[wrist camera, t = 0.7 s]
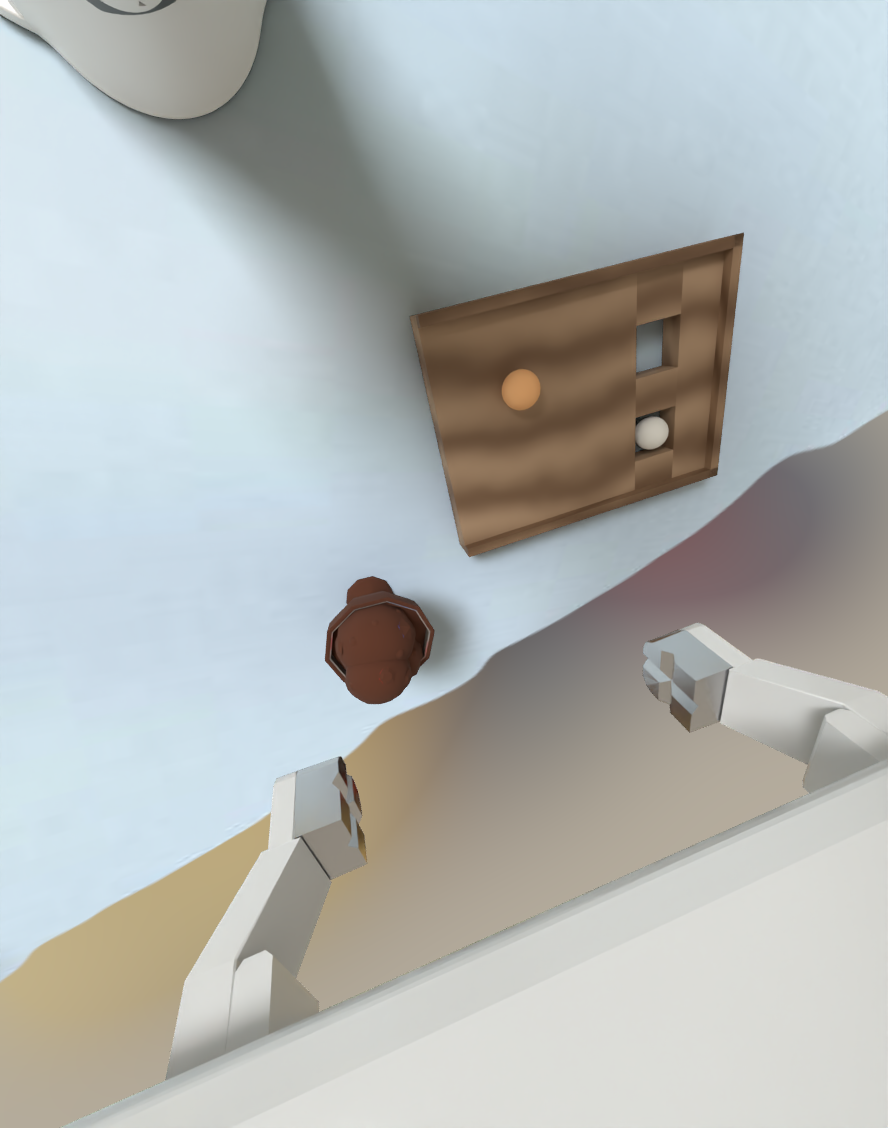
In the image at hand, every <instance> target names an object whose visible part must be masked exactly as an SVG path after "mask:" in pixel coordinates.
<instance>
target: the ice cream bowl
mask: <svg viewBox="0 0 888 1128" xmlns="http://www.w3.org/2000/svg"><path fill="white" fill-rule="evenodd" d="M346 603H347V604H348V605H347V606H346V607H345V608H344V609H343V610H342V611H341V612H340V613H339V614H338V615H337V616H336V617H335V618H334V619H333V620H332V621H331V622H330V624H329V627H328V631H327V641H326V654H325V661H326V662H327V664H328V665H329V666H330V667H331V668H332V669H333V670H334V672H335V673H336V674H337V675H338V676H339V677H340V678H341V680H342V681H343V682H345V683H346V686H347V689H348V691H349V692H350V693H351V694H352V695H353V696H354V697H356V698H358V699H359V700H361V701H362V702H365V703H367V704H382V703H386V702H389V701H391V700H393V699H394V698H396V697H397V696H399V695H400V694H401V693H402V692H403V690H404V689H405V688H406V687H407V686H408V684H409V682H410V680H411V677H412V676H414V675H416V674H417V672H418V670H419V667H420V666H421V665H422V664H423V663H424V662H425V661H426V660H427V659H429V656H430V651H431V646H432V641H433V636H434V629H433V627H432V626H431V624H430V623H429V621H428V620H427V618H426V616H425V615H424V613H423V612H422V610H421V609H420V607H419V606H418V605H417V604H416V603H415V601H412V600H410V599H407V598H404V597H401V596H398V595H394V594H393V591H392V589H391V588H390V586H389V585H388V583H387V582H386V581H385V580H382V579H379V578H376V577H373V576H371V577H367V578H363V579H359V580H357V581H356V582H355V583H354V584H353V585H352V586H351V587H350V588H349V589H348V592H347V602H346Z"/></svg>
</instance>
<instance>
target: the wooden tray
mask: <svg viewBox="0 0 888 1128" xmlns="http://www.w3.org/2000/svg"><path fill="white" fill-rule="evenodd" d="M743 237H744V233H741V234H736V235H732V236H728V237H724V238H719V239H715V240H711V241H707V242H703V243H699V244H695V245H691V246H687V247H683V248H679V249H675V250H671V251H667V252H663V253H659V254H655V255H651V256H647V257H643V258H639V259H636V260H632V261H628V262H624V263H620V264H616V265H612V266H608V267H604V268H600V269H596V270H592V271H588V272H584V273H580V274H576V275H572V276H568V277H564V278H560V279H556V280H552V281H548V282H544V283H540V284H536V285H532V286H528V287H524V288H520V289H516V290H512V291H508V292H504V293H500V294H496V295H493V296H489V297H485V298H481V299H477V300H473V301H469V302H465V303H461V304H457V305H453V306H449V307H445V308H441V309H437V310H433V311H429V312H425V313H421V314H417V315H413V316H410V321H411V325H412V330H413V334H414V339H415V343H416V348H417V352H418V357H419V361H420V366H421V370H422V375H423V379H424V384H425V388H426V393H427V397H428V402H429V406H430V411H431V415H432V420H433V424H434V429H435V433H436V438H437V442H438V447H439V451H440V456H441V460H442V465H443V469H444V474H445V478H446V483H447V487H448V492H449V496H450V501H451V505H452V510H453V514H454V519H455V524H456V528H457V533H458V537H459V542H460V545H461V546H462V548H463V549H464V550H465V552H466V553H467V555H468V556H469V557H471V556H474V555H477V554H480V553H483V552H486V551H489V550H492V549H495V548H498V547H501V546H504V545H507V544H510V543H513V542H516V541H519V540H522V539H526V538H529V537H532V536H535V535H538V534H541V533H544V532H547V531H550V530H553V529H556V528H559V527H562V526H565V525H568V524H571V523H574V522H577V521H580V520H583V519H586V518H589V517H592V516H595V515H598V514H601V513H604V512H607V511H610V510H613V509H616V508H619V507H622V506H625V505H628V504H631V503H634V502H637V501H640V500H643V499H646V498H649V497H652V496H655V495H658V494H661V493H664V492H667V491H671V490H674V489H677V488H680V487H683V486H686V485H689V484H692V483H695V482H698V481H701V480H704V479H707V478H710V477H713V476H716V475H717V471H718V462H719V453H720V444H721V435H722V426H723V417H724V408H725V399H726V390H727V381H728V372H729V363H730V354H731V345H732V336H733V327H734V318H735V309H736V300H737V291H738V282H739V273H740V264H741V255H742V246H743ZM660 319H663V343H662V366H659V367H655V368H652V369H648V370H645V371H641V372H638V373H636V327H637V326H638V325H642V324H645V323H649V322H653V321H656V320H660ZM518 369H526V370H529V371H531V372H533V373H534V374H535V375H536V376H537V378H538V379H539V382H540V387H541V390H540V395H539V398H538V400H537V401H536V403H535V404H534V405H533V406H531V407H530V408H528V409H525V410H514V409H512V408H510V407H509V406H508V405H507V404H506V403H505V402H504V400H503V397H502V385H503V382H504V380H505V378H506V377H507V376H508V375H509V374H510V373H511V372H513V371H515V370H518ZM657 411H660V418H661V419H663V420H664V421H665V422H666V423H667V425H668V429H669V432H668V437H667V439H666V441H665V442H664V443H663V444H662V445H661V446H659V447H657V448H655V449H645V450H641V451H638V452H635V421H636V418H637V417H640V416H644V415H647V414H650V413H653V412H657Z"/></svg>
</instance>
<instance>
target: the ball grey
mask: <svg viewBox="0 0 888 1128" xmlns="http://www.w3.org/2000/svg"><path fill="white" fill-rule="evenodd" d="M668 432H669V429H668V425H667V423H666V422H665V421H664V420H663V419H661V418H659V417H654V416H653V417H647V418H645V419H643V420H641V421H640V422H639V423H638V424H637V426H636V427H635V442H636V444H637V445H638V446H639V447H641V448H643V449H655V448H657V447H659V446H661V445H662V444H663V443H664V442H665V441H666V439H667V437H668Z"/></svg>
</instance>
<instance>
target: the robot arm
mask: <svg viewBox="0 0 888 1128" xmlns="http://www.w3.org/2000/svg"><path fill="white" fill-rule="evenodd" d="M266 2H267V0H0V15H2V16H4V17H5V18H7V19H9V20H11V21H13V22H14V23H16V24H18V25H20V26H22V27H24V28H26V29H28V30H30V31H32V32H34V33H36V34H37V35H39V36H40V37H41V38H43V39H44V40H45V41H46V42H47V43H49V44H50V45H51V46H52V47H53V48H54V49H55V50H56V51H57V52H58V53H59V54H60V55H61V56H62V57H63V58H64V59H65V60H66V61H67V62H68V63H69V64H70V65H71V66H72V67H73V68H74V69H75V70H77V71H78V72H79V73H80V74H81V75H82V76H83V77H84V78H86V79H87V80H88V81H89V82H90V83H92V84H93V85H94V86H96V87H97V88H98V89H100V90H101V91H102V92H104V93H105V94H107V95H108V96H110V97H112V98H113V99H115V100H117V101H118V102H120V103H122V104H124V105H126V106H128V107H130V108H132V109H135V110H137V111H140V112H142V113H145V114H149V115H152V116H156V117H161V118H168V119H188V118H195V117H199V116H202V115H205V114H208V113H210V112H212V111H214V110H216V109H218V108H219V107H221V106H222V105H224V104H225V103H226V102H228V101H229V100H230V99H231V98H232V97H233V96H234V95H235V94H236V92H237V91H238V90H239V89H240V87H241V86H242V84H243V83H244V81H245V80H246V78H247V76H248V74H249V72H250V70H251V67H252V65H253V62H254V59H255V56H256V52H257V49H258V44H259V39H260V32H261V25H262V19H263V13H264V9H265V5H266ZM643 654H644V655H645V656H646V657H647V658H648V659H647V660H646V662H645V663H644V665H643V677H644V680H645V682H646V685H647V687H648V688H649V690H650V691H651V693H652V694H653V695H654V696H655V697H656V698H657V699H658V700H659V701H662V702H665V703H667V704H670V713H671V714H672V715H673V716H674V717H675V718H676V719H677V720H678V721H679V722H680V723H681V724H682V725H683V726H684V727H685V728H686V730H688V732H689V733H690V732H693V731H696V730H698V729H701V728H704V727H706V726H709V725H711V724H714V723H717V722H720V724H723V725H725V726H727V727H729V728H731V729H733V730H735V731H737V732H740V733H742V734H744V735H746V736H748V737H750V738H752V739H755V740H756V741H759V742H761V743H763V744H765V745H767V746H769V747H771V748H773V749H775V750H778V751H780V752H782V753H784V754H786V755H788V756H790V757H792V758H795V759H797V760H799V761H801V762H803V763H805V764H807V765H808V766H807V769H806V772H805V774H804V778H803V788H805V789H806V790H807V791H808V792H809V794H807V795H805V796H802V797H800V798H798V799H796V800H793V801H791V802H789V803H787V804H784V805H782V806H780V807H778V808H775V809H773V810H771V811H769V812H766V813H764V814H762V815H760V816H758V817H755V818H753V819H751V820H749V821H746V822H744V823H742V824H739V825H737V826H735V827H733V828H730V829H728V830H726V831H724V832H722V833H719V834H717V835H715V836H713V837H710V838H708V839H706V840H703V841H701V842H699V843H697V844H695V845H692V846H690V847H688V848H686V849H683V850H681V851H679V852H677V853H674V854H672V855H670V856H668V857H665V858H663V859H661V860H659V861H656V862H654V863H652V864H650V865H647V866H645V867H643V868H641V869H639V870H636V871H634V872H632V873H630V874H627V875H625V876H623V877H620V878H618V879H616V880H614V881H611V882H609V883H607V884H605V885H602V886H600V887H598V888H596V889H594V890H591V891H589V892H587V893H585V894H582V895H580V896H578V897H576V898H573V899H571V900H569V901H567V902H564V903H562V904H560V905H558V906H555V907H553V908H551V909H549V910H546V911H544V912H542V913H540V914H538V915H535V916H533V917H531V918H529V919H526V920H524V921H522V922H520V923H517V924H515V925H513V926H511V927H508V928H506V929H504V930H502V931H500V932H497V933H495V934H493V935H490V936H488V937H486V938H484V939H481V940H479V941H477V942H475V943H472V944H470V945H468V946H466V947H463V948H461V949H459V950H457V951H455V952H452V953H450V954H448V955H446V956H443V957H441V958H439V959H437V960H434V961H432V962H430V963H428V964H425V965H423V966H421V967H419V968H417V969H414V970H412V971H410V972H407V973H405V974H403V975H401V976H399V977H396V978H394V979H392V980H390V981H387V982H385V983H383V984H381V985H378V986H376V987H374V988H372V989H369V990H367V991H365V992H363V993H360V994H358V995H356V996H354V997H351V998H349V999H347V1000H345V1001H342V1002H340V1003H338V1004H336V1005H333V1006H331V1007H329V1008H327V1009H325V1010H322V1011H320V1012H319V1001H318V1000H317V999H316V998H315V997H314V996H313V995H312V994H311V993H310V992H309V991H308V990H307V989H306V988H305V987H304V986H303V985H302V984H301V983H300V982H299V981H298V980H297V979H296V977H297V974H298V972H299V969H300V966H301V964H302V961H303V958H304V955H305V953H306V950H307V947H308V945H309V942H310V939H311V937H312V933H313V931H314V928H315V926H316V923H317V920H318V918H319V915H320V912H321V910H322V907H323V904H324V902H325V899H326V896H327V893H328V891H329V888H330V885H331V881H330V880H332V879H334V878H336V877H339V876H341V875H343V874H345V873H348V872H350V871H352V870H355V869H357V868H359V867H361V866H364V865H366V864H367V856H366V846H365V837H364V833H363V831H362V829H361V828H360V826H359V822H360V820H361V818H362V810H361V803H360V798H359V794H358V790H357V787H356V785H355V782H354V780H353V778H352V776H349V775H347V772H346V764H345V763H344V761H343V759H342V757H341V756H340V757H336V758H333V759H330V760H327V761H324V762H322V763H319V764H316V765H313V766H310V767H307V768H304V769H301V770H298V771H296V772H293V773H290V774H287V775H284V776H282V777H279V778H276V781H275V783H274V786H273V798H272V810H271V822H270V835H269V846H268V850H265V851H264V852H261V854H260V856H259V857H258V859H257V861H256V862H255V864H254V866H253V867H252V869H251V871H250V872H249V874H248V876H247V878H246V879H245V881H244V883H243V884H242V886H241V888H240V889H239V891H238V893H237V894H236V896H235V898H234V900H233V901H232V903H231V904H230V906H229V908H228V910H227V912H226V913H225V915H224V916H223V918H222V920H221V921H220V923H219V925H218V926H217V928H216V930H215V931H214V933H213V935H212V936H211V938H210V940H209V942H208V943H207V945H206V947H205V948H204V950H203V952H202V953H201V955H200V957H199V958H198V960H197V962H196V963H195V965H194V967H193V968H192V970H191V972H190V974H189V975H188V977H187V979H186V980H185V983H184V988H183V993H182V998H181V1004H180V1009H179V1013H178V1018H177V1023H176V1029H175V1034H174V1039H173V1044H172V1049H171V1054H170V1059H169V1064H168V1069H167V1074H166V1079H165V1081H163V1082H161V1083H159V1084H156V1085H154V1086H152V1087H150V1088H148V1089H146V1090H143V1091H141V1092H139V1093H137V1094H134V1095H132V1096H130V1097H127V1098H126V1099H123V1100H121V1101H119V1102H116V1103H114V1104H112V1105H110V1106H107V1107H105V1108H103V1109H100V1110H98V1111H96V1112H94V1113H91V1114H89V1115H87V1116H85V1117H82V1118H80V1119H78V1120H76V1121H74V1122H71V1123H69V1124H67V1125H65V1126H62V1127H60V1128H888V697H887V696H886V695H884V694H882V693H881V692H879V691H876V690H873V689H869V688H865V687H862V686H858V685H854V684H851V683H847V682H843V681H839V680H836V679H832V678H829V677H825V676H821V675H817V674H814V673H810V672H806V671H803V670H799V669H795V668H792V667H788V666H784V665H780V664H777V663H773V662H770V661H766V660H762V659H759V658H757V659H754V660H752V659H750V658H749V657H747V656H746V655H745V654H743V653H742V652H741V651H739V650H738V649H737V648H735V647H734V646H732V645H731V644H729V643H728V642H727V641H725V640H724V639H723V638H721V637H720V636H719V635H717V634H716V633H715V632H713V631H712V630H710V629H709V628H708V627H706V626H705V625H703V624H700V623H695V624H693V625H690V626H687V627H685V628H682V629H680V630H676V631H673V632H671V633H668V634H665V635H663V636H660V637H658V638H655V639H653V640H650V641H647V642H646V643H645V645H644V648H643Z"/></svg>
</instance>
